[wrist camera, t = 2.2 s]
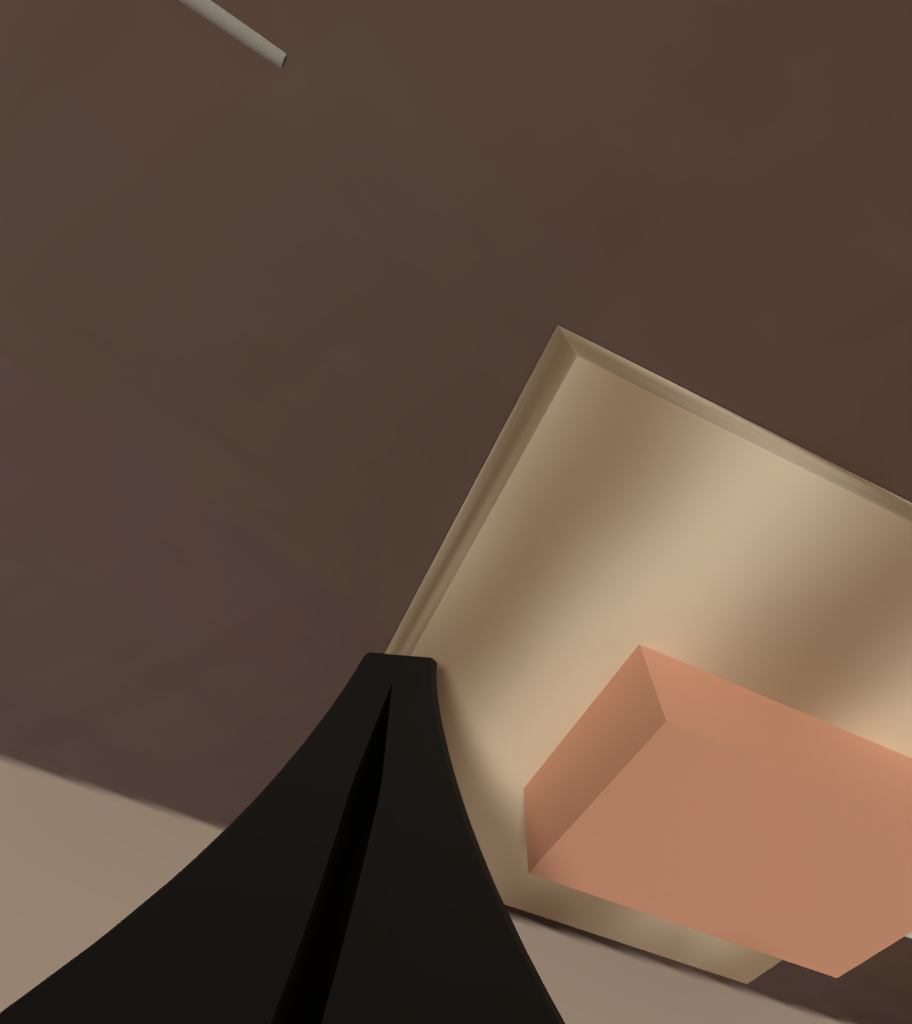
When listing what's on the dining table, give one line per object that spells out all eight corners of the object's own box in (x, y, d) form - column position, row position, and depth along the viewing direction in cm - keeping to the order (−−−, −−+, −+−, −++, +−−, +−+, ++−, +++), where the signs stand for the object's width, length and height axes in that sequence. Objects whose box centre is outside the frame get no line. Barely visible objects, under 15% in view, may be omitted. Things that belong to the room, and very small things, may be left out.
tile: (523, 788, 14) (528, 873, 12) (639, 643, 12) (666, 721, 10) (795, 887, 15) (837, 978, 13) (947, 773, 13) (1021, 863, 11)
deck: (335, 746, 18) (308, 840, 15) (557, 324, 12) (577, 355, 9) (712, 881, 20) (746, 984, 17) (1069, 582, 14) (1209, 669, 11)
